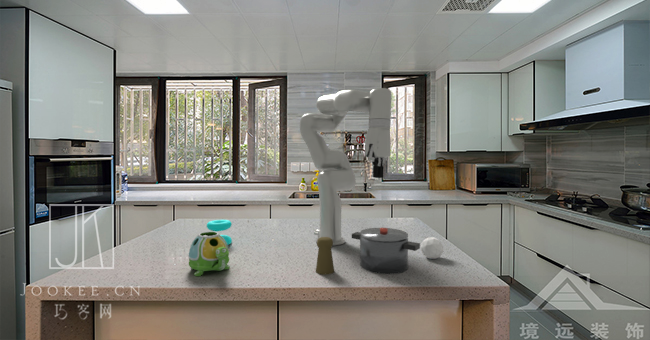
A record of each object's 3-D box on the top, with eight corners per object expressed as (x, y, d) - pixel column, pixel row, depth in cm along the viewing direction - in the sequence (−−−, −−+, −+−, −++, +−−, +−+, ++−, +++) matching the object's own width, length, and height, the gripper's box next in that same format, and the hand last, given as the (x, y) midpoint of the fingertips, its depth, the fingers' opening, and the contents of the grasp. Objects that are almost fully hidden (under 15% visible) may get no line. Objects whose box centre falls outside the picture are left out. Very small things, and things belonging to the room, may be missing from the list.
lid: (351, 236, 103) (351, 229, 103) (375, 228, 115) (375, 221, 115) (394, 245, 92) (394, 236, 92) (415, 235, 105) (415, 227, 105)
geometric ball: (427, 263, 114) (422, 243, 118) (448, 259, 110) (442, 238, 115) (420, 258, 108) (415, 237, 113) (442, 253, 105) (437, 231, 109)
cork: (332, 275, 95) (332, 240, 95) (313, 273, 96) (313, 239, 96) (335, 268, 101) (335, 235, 101) (317, 267, 102) (317, 234, 102)
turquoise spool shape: (201, 222, 127) (221, 218, 136) (201, 245, 128) (221, 240, 136) (217, 224, 122) (236, 220, 130) (217, 249, 122) (236, 243, 131)
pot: (341, 263, 106) (341, 235, 105) (366, 252, 118) (366, 227, 118) (406, 281, 90) (406, 248, 90) (426, 266, 103) (427, 237, 102)
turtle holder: (204, 285, 88) (203, 244, 87) (182, 268, 101) (182, 233, 101) (243, 274, 96) (243, 236, 96) (218, 260, 110) (218, 227, 109)
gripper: (381, 127, 114) (379, 175, 115) (358, 124, 103) (356, 177, 104) (399, 126, 109) (397, 177, 110) (377, 123, 98) (375, 179, 99)
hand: (377, 177), depth 107 cm, fingers closed
